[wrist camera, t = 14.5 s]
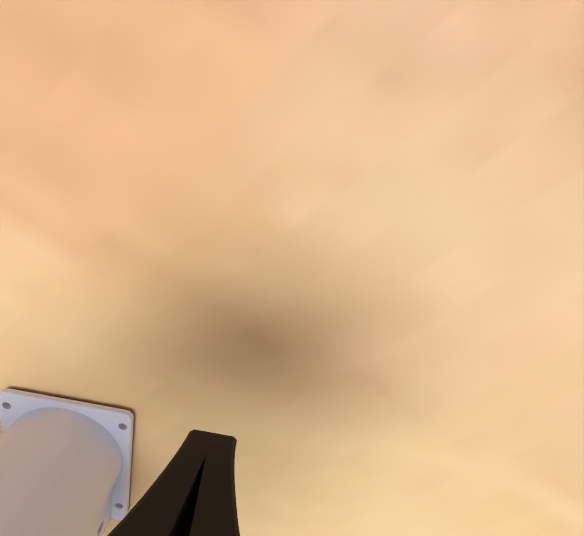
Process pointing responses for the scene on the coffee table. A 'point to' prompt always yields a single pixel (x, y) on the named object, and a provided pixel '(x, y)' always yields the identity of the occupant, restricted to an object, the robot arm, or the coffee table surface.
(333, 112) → the coffee table surface
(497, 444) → the coffee table surface
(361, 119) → the coffee table surface
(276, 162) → the coffee table surface
